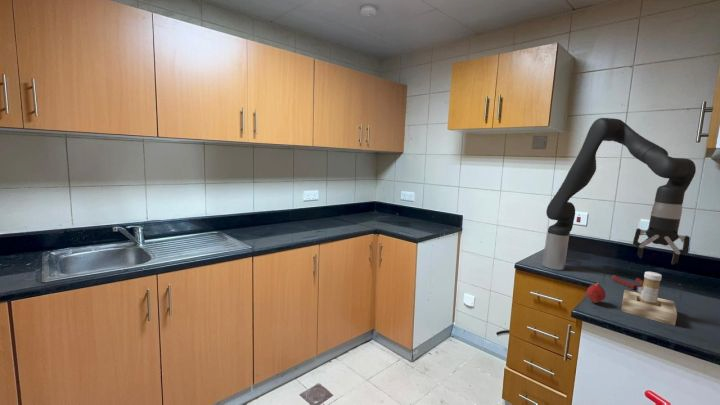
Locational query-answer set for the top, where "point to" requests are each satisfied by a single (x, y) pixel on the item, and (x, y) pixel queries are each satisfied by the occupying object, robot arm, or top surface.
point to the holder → (649, 308)
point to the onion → (596, 293)
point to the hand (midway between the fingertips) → (656, 260)
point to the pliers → (629, 283)
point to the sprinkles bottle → (650, 288)
